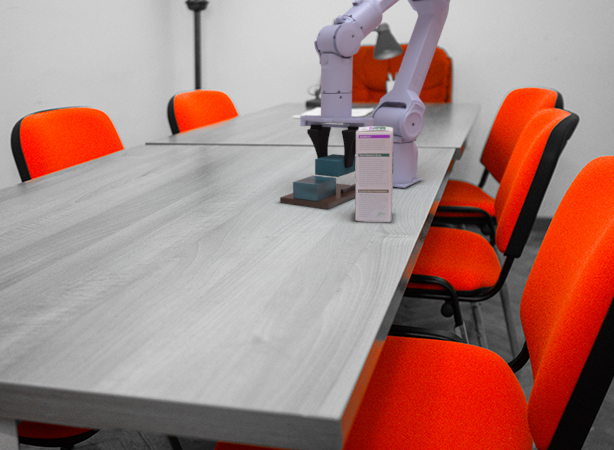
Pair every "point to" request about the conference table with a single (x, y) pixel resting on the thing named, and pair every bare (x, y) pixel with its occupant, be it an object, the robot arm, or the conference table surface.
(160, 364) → the conference table surface
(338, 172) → the loose pad
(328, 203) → the assembly board
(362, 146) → the syrup box
